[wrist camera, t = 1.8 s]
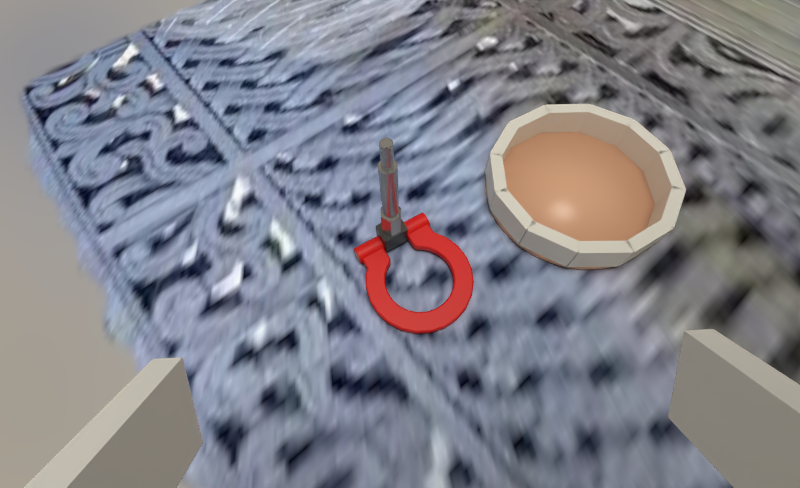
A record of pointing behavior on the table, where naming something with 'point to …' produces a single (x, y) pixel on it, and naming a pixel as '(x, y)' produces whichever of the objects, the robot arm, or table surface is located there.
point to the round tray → (582, 186)
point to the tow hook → (420, 238)
